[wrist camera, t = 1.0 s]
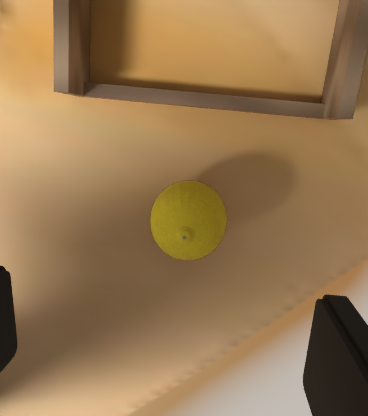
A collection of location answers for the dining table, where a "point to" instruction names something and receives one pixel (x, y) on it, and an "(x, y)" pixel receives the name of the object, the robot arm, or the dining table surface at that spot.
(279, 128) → the dining table surface
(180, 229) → the lemon
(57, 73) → the box
